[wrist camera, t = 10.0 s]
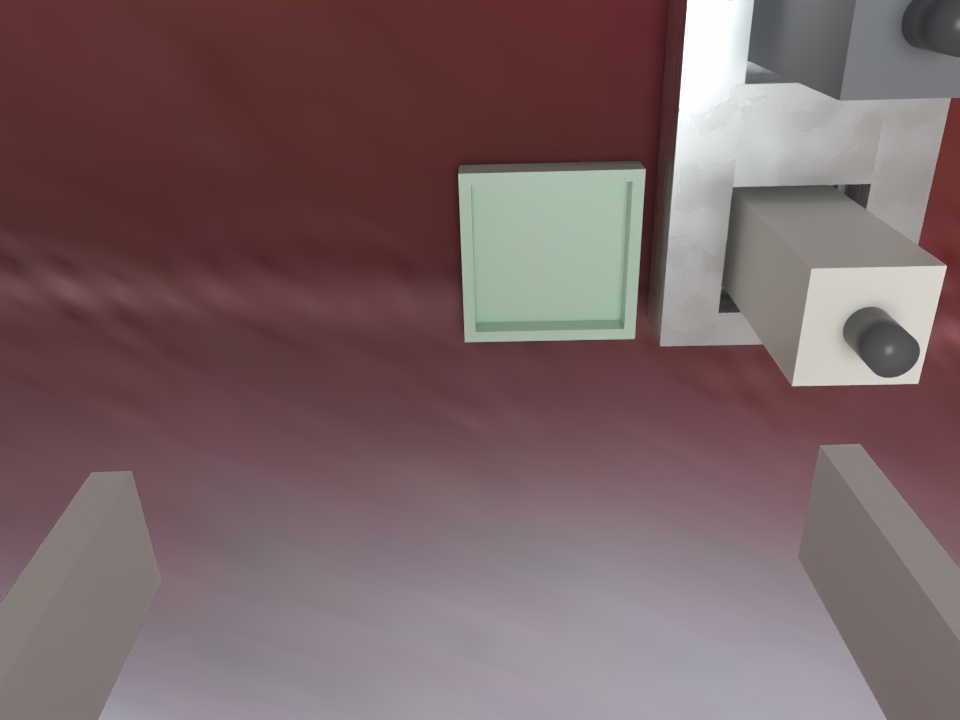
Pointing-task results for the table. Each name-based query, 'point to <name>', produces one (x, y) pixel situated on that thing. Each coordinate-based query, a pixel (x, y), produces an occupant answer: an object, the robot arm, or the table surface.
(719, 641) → the table surface
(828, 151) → the metal socket frame
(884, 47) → the twin plug
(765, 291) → the plug
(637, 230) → the tray
